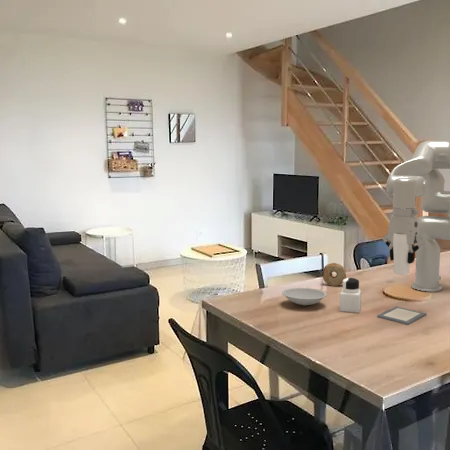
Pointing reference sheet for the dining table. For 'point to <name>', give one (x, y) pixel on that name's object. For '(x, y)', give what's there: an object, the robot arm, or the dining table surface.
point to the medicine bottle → (350, 296)
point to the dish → (304, 295)
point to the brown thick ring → (331, 279)
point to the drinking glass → (400, 254)
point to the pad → (401, 315)
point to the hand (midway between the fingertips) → (401, 260)
